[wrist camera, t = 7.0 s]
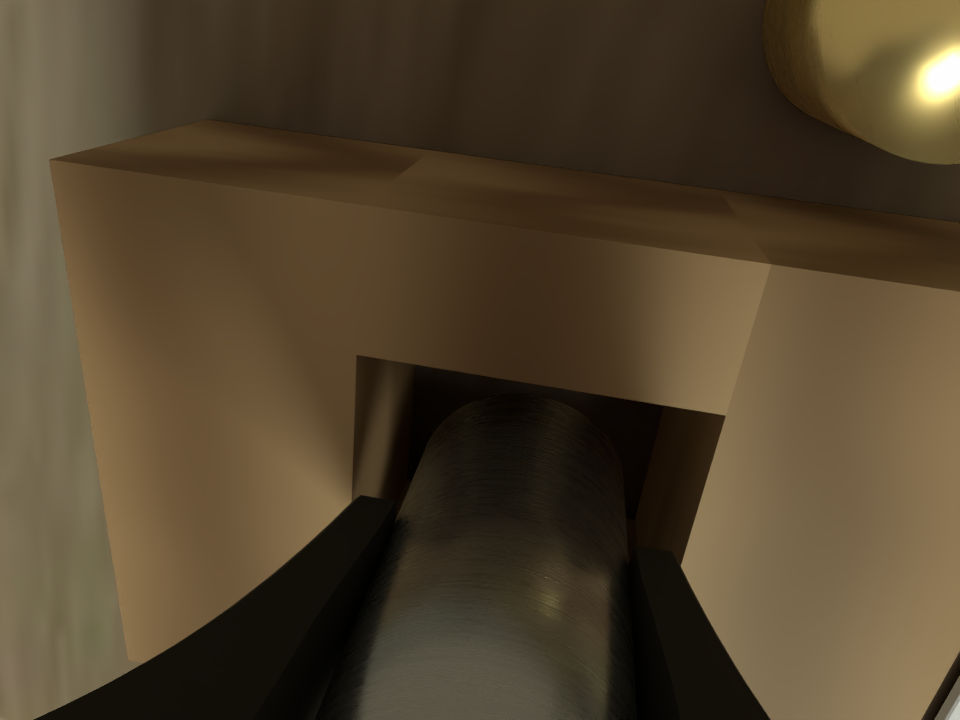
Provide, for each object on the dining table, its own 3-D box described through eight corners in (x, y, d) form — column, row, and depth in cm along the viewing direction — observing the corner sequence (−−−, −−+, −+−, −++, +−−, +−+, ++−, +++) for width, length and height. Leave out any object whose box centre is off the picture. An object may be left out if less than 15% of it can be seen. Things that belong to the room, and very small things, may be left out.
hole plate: (974, 225, 14) (1147, 318, 10) (804, 628, 19) (867, 814, 15) (207, 119, 16) (48, 159, 11) (231, 520, 20) (128, 659, 16)
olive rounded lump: (1044, -108, 12) (1236, -162, 8) (950, 139, 14) (1075, 181, 10) (799, -132, 12) (882, -194, 9) (737, 112, 14) (785, 145, 10)
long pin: (640, 410, 13) (710, 1040, 5) (606, 578, 15) (615, 1247, 7) (425, 379, 13) (165, 918, 5) (416, 547, 15) (211, 1142, 7)
